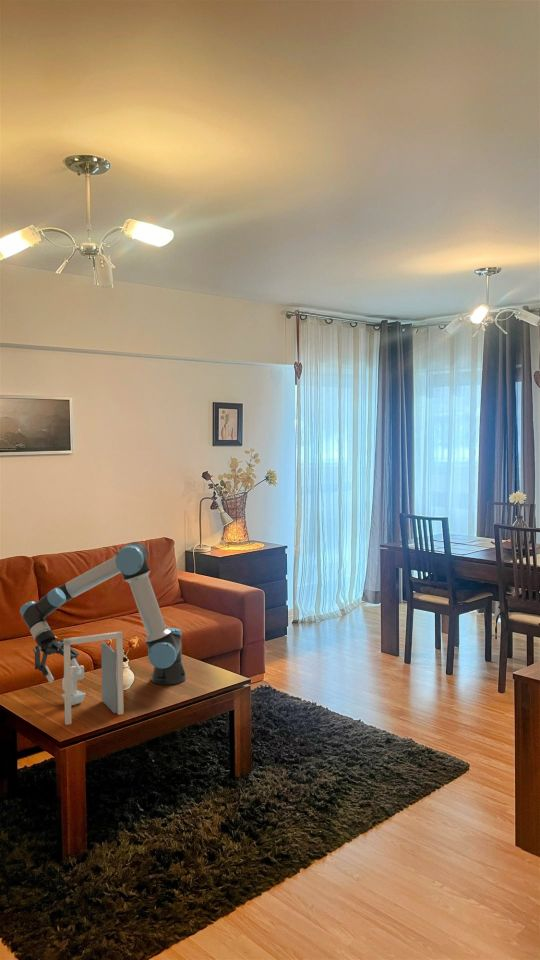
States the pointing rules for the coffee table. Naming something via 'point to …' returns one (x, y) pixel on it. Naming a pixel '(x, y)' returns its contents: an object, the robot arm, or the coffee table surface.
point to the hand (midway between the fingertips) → (66, 676)
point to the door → (109, 677)
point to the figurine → (75, 685)
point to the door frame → (67, 668)
